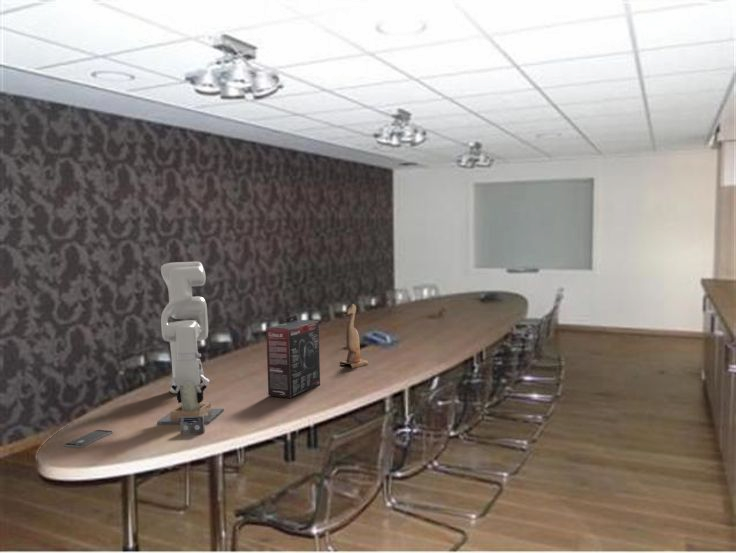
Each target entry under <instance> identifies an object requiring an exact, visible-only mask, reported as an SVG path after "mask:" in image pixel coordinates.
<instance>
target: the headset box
mask: <svg viewBox="0 0 736 553" xmlns="http://www.w3.org/2000/svg"><path fill="white" fill-rule="evenodd" d="M319 322H320V321H318V320H309V319H308V320H307V319H306V320H303V319H301V320H300V319H298V316H297V315H291V316H287V317H285V323H281V324H277V325H273V326H268V327H266V328H265V329H266V360H267V361H266V362H267V390H268V392H267V395H268V397H269V396H270V397H271V396H272V397H277V398H278V397H279V398H287V399H292V398H293V397H296V396H299V395H301V394H303V393H305V392H307V391H310V390H312V389H314V388H316V387H319V386H320V385H321V372H320V371H321V366H320V364H321V363H320V361H321V360H320V330H319V329H320V328H319V327H320V326H319V325H320V324H319Z"/></svg>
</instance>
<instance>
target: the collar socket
mask: <svg viewBox="0 0 736 553" xmlns="http://www.w3.org/2000/svg"><path fill="white" fill-rule="evenodd" d="M211 404H212V403H211V402H201V403H200V409H199V410H198V411H182V405H181V404H179V405H178V406H177V407H174V409H172V410H171V411H170V412H169V413H167V414H166V415H164V416H163V417H161V418H160V419H158V420H157V421H156V423H157V425H180V419H179V418H180V417H193V416H204V425H209V424H210V423H212V422H213V421H214V420H215V419H216V418H218V417H219V416H220V415H221V414H222V413H223V412H224V411H225V409H224V408H212V405H211Z"/></svg>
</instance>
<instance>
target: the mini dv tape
mask: <svg viewBox="0 0 736 553" xmlns="http://www.w3.org/2000/svg"><path fill="white" fill-rule="evenodd" d="M179 419H180V424H179V431H180V435H195V434H196V435H197V434H201V435H203V434H205V431H206V430H205V428H206V427H205V424H204V416H193V417H180V418H179Z"/></svg>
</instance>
